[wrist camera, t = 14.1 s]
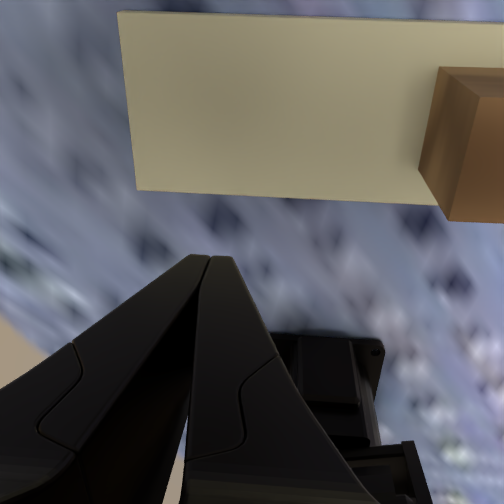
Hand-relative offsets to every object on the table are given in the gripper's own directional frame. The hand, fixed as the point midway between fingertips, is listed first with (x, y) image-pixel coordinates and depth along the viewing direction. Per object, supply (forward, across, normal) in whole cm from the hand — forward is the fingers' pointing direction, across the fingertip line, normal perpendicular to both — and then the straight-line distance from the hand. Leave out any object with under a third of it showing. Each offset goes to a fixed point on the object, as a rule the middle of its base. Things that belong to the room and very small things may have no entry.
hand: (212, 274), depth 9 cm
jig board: (+12, -8, 0) cm, 14 cm away
